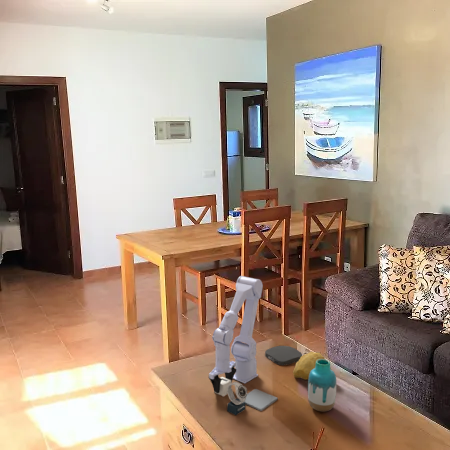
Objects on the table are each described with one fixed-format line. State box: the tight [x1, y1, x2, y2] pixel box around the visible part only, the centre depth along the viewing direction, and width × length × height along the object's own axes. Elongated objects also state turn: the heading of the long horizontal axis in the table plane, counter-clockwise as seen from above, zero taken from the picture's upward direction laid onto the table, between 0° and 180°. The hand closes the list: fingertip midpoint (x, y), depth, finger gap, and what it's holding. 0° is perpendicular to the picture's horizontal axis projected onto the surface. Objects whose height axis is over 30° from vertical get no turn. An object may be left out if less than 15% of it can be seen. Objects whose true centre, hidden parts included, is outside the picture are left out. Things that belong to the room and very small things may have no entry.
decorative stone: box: [292, 351, 333, 381], centre depth 212 cm, size 13×15×15 cm
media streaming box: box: [264, 345, 303, 366], centre depth 234 cm, size 15×15×3 cm
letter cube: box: [213, 376, 231, 397], centre depth 202 cm, size 5×5×5 cm
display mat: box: [244, 388, 278, 412], centre depth 196 cm, size 11×11×1 cm
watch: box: [226, 381, 248, 416], centre depth 188 cm, size 6×8×11 cm
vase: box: [307, 358, 337, 412], centre depth 189 cm, size 11×11×19 cm
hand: (222, 388), depth 202 cm, fingers open, 7 cm apart
